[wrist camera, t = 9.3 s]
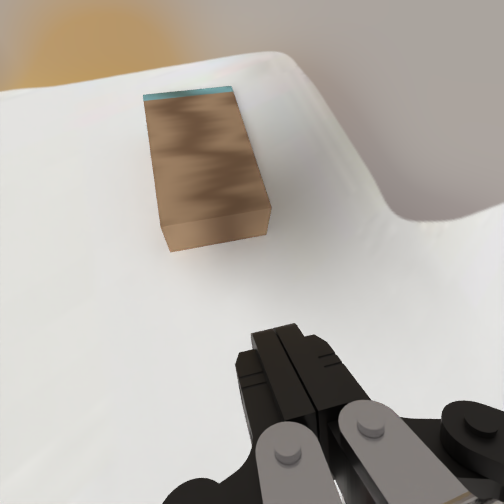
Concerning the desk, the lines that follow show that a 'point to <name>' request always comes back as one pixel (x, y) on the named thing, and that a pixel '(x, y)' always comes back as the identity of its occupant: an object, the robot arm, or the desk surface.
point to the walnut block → (204, 169)
